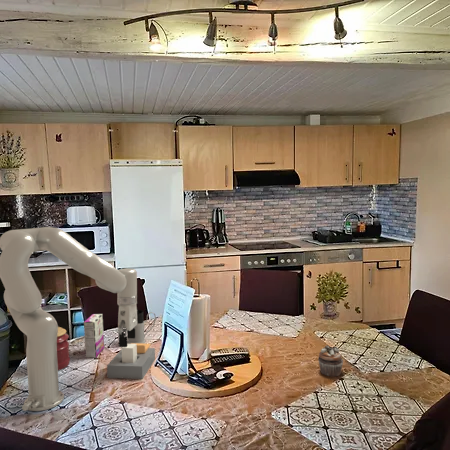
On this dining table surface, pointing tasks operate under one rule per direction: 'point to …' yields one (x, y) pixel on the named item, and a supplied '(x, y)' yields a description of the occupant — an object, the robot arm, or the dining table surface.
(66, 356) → the canister
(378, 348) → the dining table surface
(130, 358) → the block
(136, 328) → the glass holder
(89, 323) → the candy bar box
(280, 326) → the dining table surface
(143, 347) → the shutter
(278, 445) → the dining table surface
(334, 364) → the cupcake
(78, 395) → the dining table surface
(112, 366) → the socket
